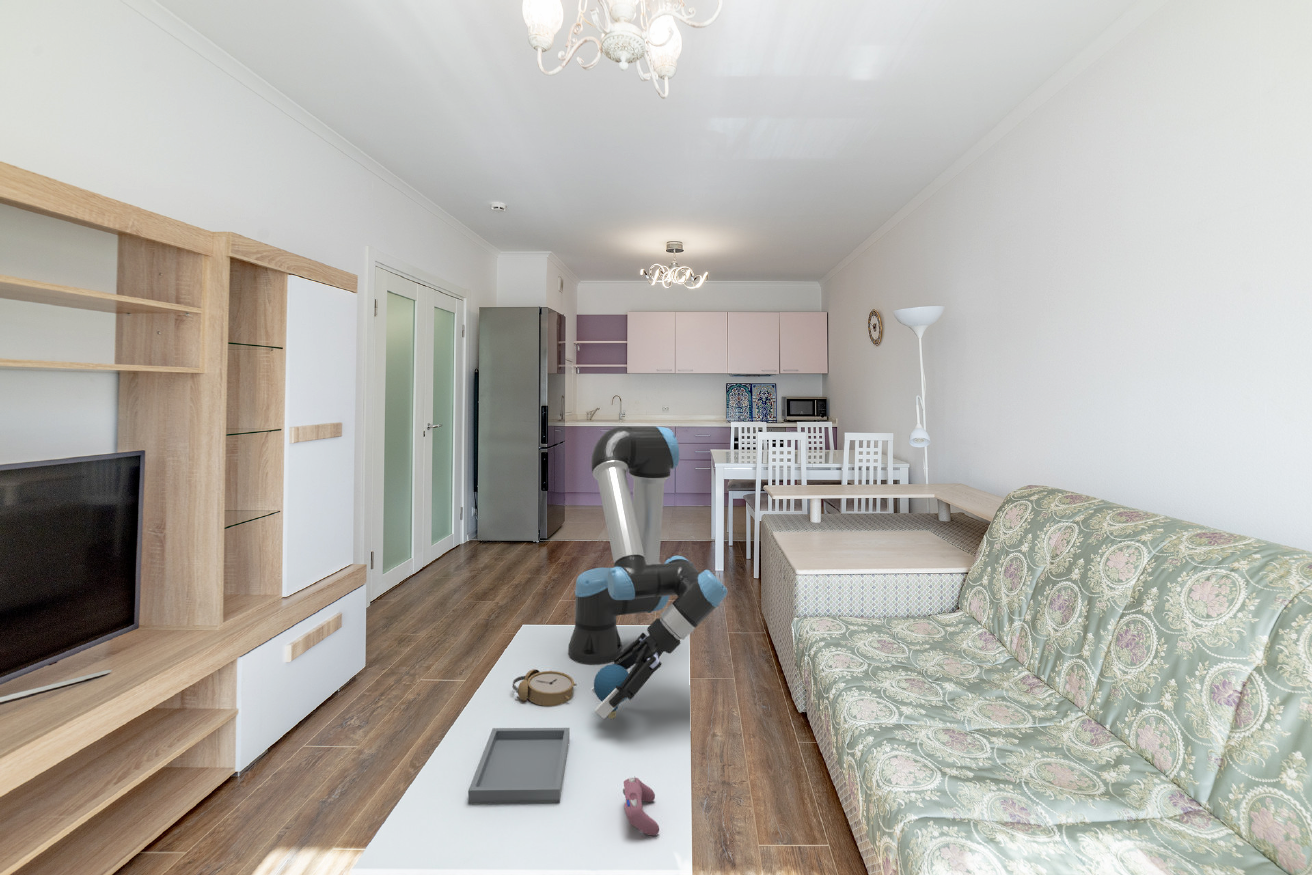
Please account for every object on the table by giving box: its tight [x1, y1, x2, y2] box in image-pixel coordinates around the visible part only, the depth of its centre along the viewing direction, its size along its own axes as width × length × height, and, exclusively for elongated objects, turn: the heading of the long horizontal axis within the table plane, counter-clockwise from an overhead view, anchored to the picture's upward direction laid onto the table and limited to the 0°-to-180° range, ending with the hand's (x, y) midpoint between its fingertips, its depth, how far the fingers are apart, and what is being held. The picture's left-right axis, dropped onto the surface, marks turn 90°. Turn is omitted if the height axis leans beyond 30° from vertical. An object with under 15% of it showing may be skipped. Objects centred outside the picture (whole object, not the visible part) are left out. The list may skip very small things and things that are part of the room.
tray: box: [467, 727, 571, 805], centre depth 116 cm, size 20×16×2 cm
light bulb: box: [593, 663, 630, 720], centre depth 133 cm, size 8×8×12 cm
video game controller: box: [622, 776, 660, 837], centre depth 103 cm, size 10×5×7 cm, turn 5°
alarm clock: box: [512, 668, 578, 707], centre depth 145 cm, size 11×5×15 cm
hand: (597, 703), depth 132 cm, fingers closed on light bulb, 8 cm apart
